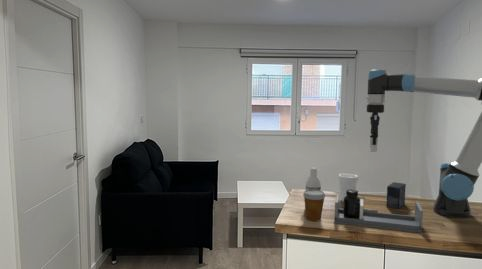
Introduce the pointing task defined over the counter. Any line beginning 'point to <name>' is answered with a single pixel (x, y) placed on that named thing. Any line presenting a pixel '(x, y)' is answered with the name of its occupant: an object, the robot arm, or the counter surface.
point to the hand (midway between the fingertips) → (373, 149)
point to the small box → (396, 195)
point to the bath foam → (313, 181)
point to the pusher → (365, 209)
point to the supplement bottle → (352, 204)
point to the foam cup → (347, 183)
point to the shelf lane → (383, 219)
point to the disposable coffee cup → (313, 204)
